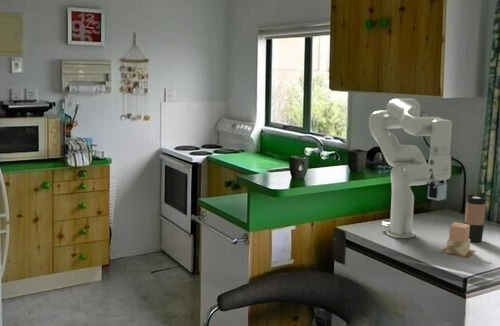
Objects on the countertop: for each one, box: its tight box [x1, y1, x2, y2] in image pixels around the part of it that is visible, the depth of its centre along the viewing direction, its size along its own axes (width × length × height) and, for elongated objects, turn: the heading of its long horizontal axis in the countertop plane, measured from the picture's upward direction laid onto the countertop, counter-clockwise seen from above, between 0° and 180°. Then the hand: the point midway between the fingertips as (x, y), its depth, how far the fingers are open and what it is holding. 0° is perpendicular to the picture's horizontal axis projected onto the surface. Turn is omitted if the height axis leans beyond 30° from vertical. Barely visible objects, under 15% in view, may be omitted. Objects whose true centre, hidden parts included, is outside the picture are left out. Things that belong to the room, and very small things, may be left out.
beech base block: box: [446, 238, 471, 256], centre depth 229 cm, size 7×7×5 cm
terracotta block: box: [448, 221, 470, 243], centre depth 228 cm, size 6×6×6 cm
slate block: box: [427, 181, 448, 202], centre depth 227 cm, size 5×5×6 cm
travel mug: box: [464, 194, 487, 244], centre depth 243 cm, size 8×8×20 cm
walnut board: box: [439, 246, 476, 259], centre depth 230 cm, size 11×11×1 cm
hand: (436, 196), depth 227 cm, fingers closed on slate block, 5 cm apart
